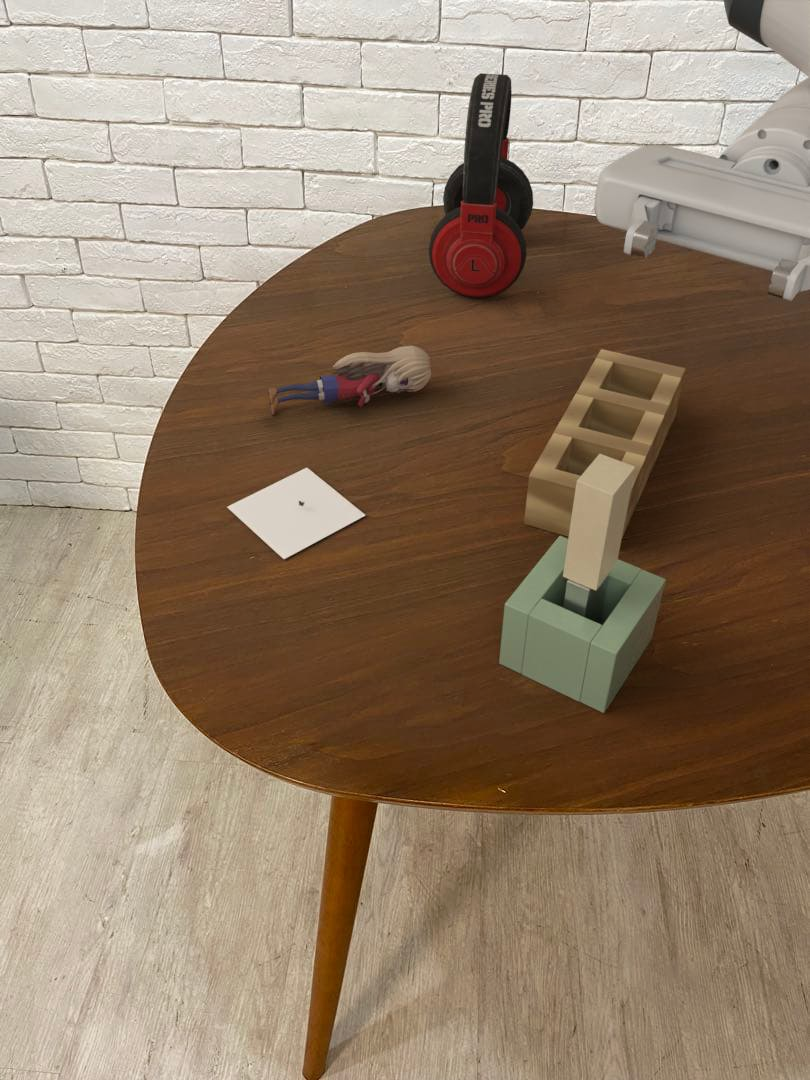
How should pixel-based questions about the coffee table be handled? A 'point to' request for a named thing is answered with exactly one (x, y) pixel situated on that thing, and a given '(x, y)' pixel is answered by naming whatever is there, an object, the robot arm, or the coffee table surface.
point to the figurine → (364, 377)
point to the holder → (579, 630)
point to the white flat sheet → (295, 512)
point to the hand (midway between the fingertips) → (706, 265)
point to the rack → (604, 433)
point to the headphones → (483, 202)
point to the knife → (596, 534)
